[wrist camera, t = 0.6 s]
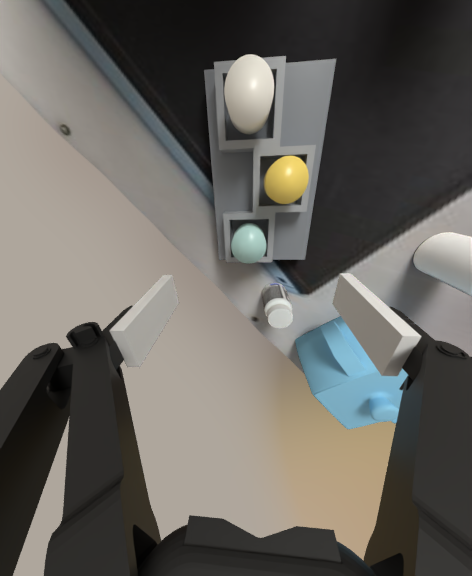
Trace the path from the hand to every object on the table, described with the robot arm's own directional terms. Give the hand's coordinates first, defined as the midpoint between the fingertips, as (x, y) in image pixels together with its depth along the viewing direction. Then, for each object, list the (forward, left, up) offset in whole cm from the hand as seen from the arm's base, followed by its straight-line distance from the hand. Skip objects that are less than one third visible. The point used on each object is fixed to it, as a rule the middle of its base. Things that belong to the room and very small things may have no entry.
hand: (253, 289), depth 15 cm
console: (-8, +1, -19) cm, 20 cm away
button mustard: (-8, +3, -14) cm, 16 cm away
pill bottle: (+11, +4, -19) cm, 23 cm away
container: (+25, +21, -19) cm, 38 cm away
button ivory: (-15, 0, -14) cm, 20 cm away
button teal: (-1, -1, -14) cm, 14 cm away
